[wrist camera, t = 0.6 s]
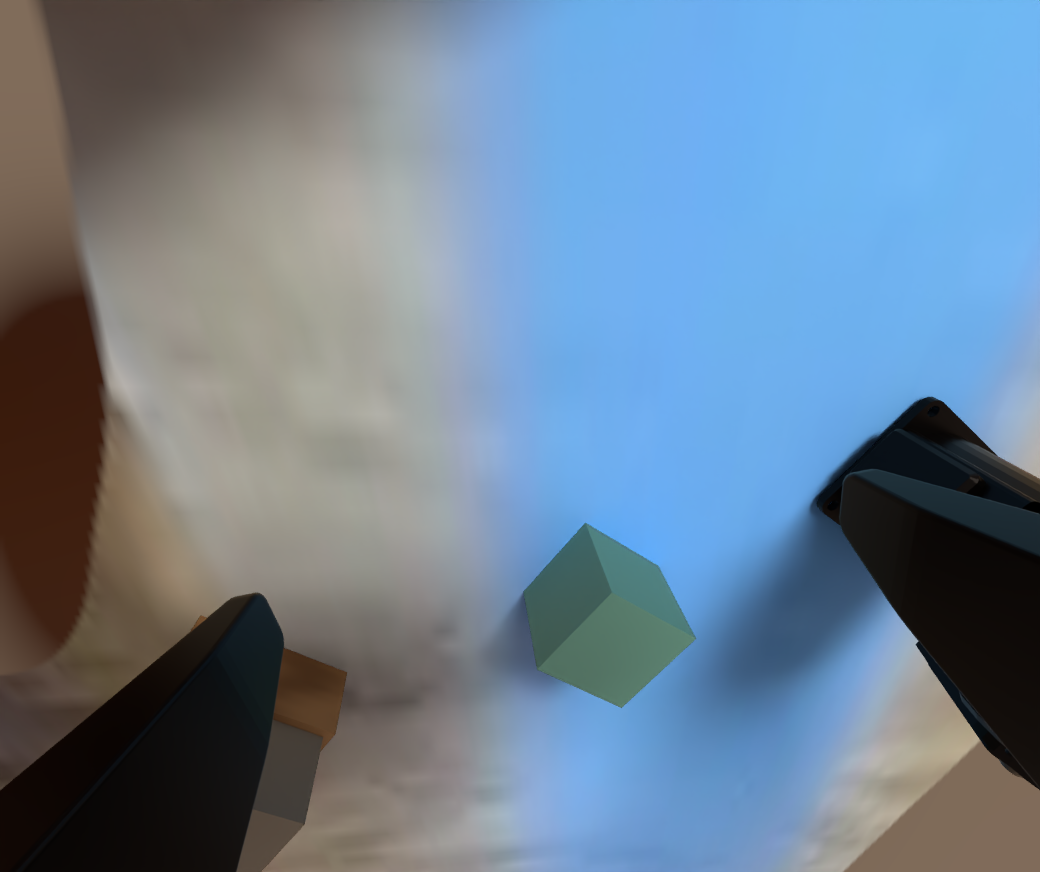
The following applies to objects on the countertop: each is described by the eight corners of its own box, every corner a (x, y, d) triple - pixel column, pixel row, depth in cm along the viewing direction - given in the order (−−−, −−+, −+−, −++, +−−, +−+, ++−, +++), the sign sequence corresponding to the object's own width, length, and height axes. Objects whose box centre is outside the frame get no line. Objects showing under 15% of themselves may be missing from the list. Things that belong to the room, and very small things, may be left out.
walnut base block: (348, 667, 27) (335, 733, 24) (278, 752, 29) (258, 824, 26) (203, 610, 24) (168, 676, 21) (138, 708, 26) (97, 781, 23)
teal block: (657, 565, 26) (696, 638, 22) (596, 627, 27) (621, 707, 23) (585, 521, 25) (612, 592, 21) (523, 590, 26) (536, 669, 22)
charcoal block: (323, 737, 24) (304, 824, 21) (255, 815, 25) (229, 907, 22) (182, 687, 22) (137, 775, 19) (118, 776, 23) (67, 870, 20)
